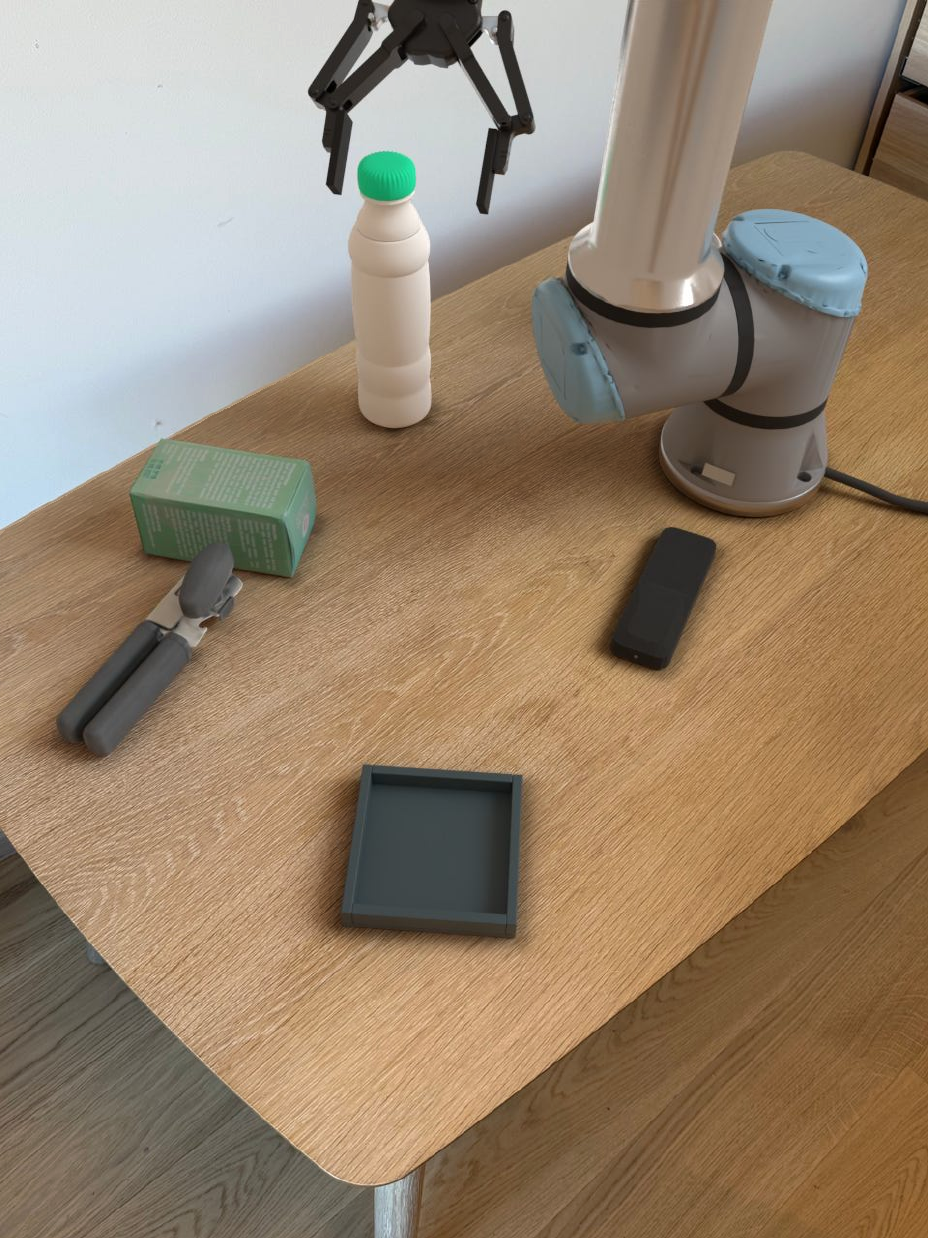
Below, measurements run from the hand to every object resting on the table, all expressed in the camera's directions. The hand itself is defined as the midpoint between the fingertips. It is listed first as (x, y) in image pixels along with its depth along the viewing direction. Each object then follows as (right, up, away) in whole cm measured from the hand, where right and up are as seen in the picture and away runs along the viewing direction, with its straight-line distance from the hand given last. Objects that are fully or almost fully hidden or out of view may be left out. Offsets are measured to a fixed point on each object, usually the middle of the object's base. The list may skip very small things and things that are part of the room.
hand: (407, 200), depth 98 cm
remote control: (+22, -36, -6) cm, 42 cm away
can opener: (-19, -41, -11) cm, 46 cm away
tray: (+3, -53, -22) cm, 58 cm away
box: (-15, -30, -2) cm, 34 cm away
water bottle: (-2, -17, +10) cm, 20 cm away
